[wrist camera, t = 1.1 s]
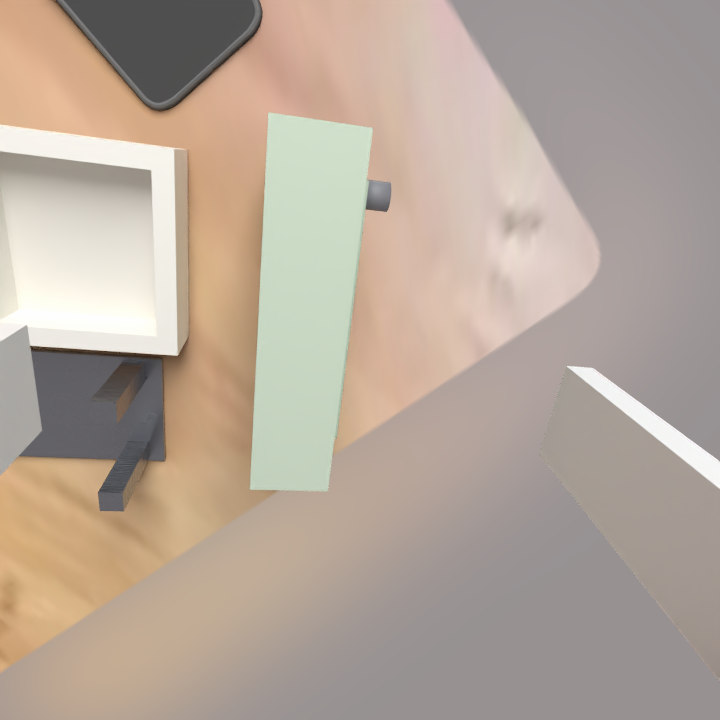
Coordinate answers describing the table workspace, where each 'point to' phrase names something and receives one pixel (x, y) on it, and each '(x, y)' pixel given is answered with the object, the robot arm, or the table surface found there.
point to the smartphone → (165, 40)
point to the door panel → (307, 294)
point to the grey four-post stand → (101, 414)
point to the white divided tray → (94, 241)
